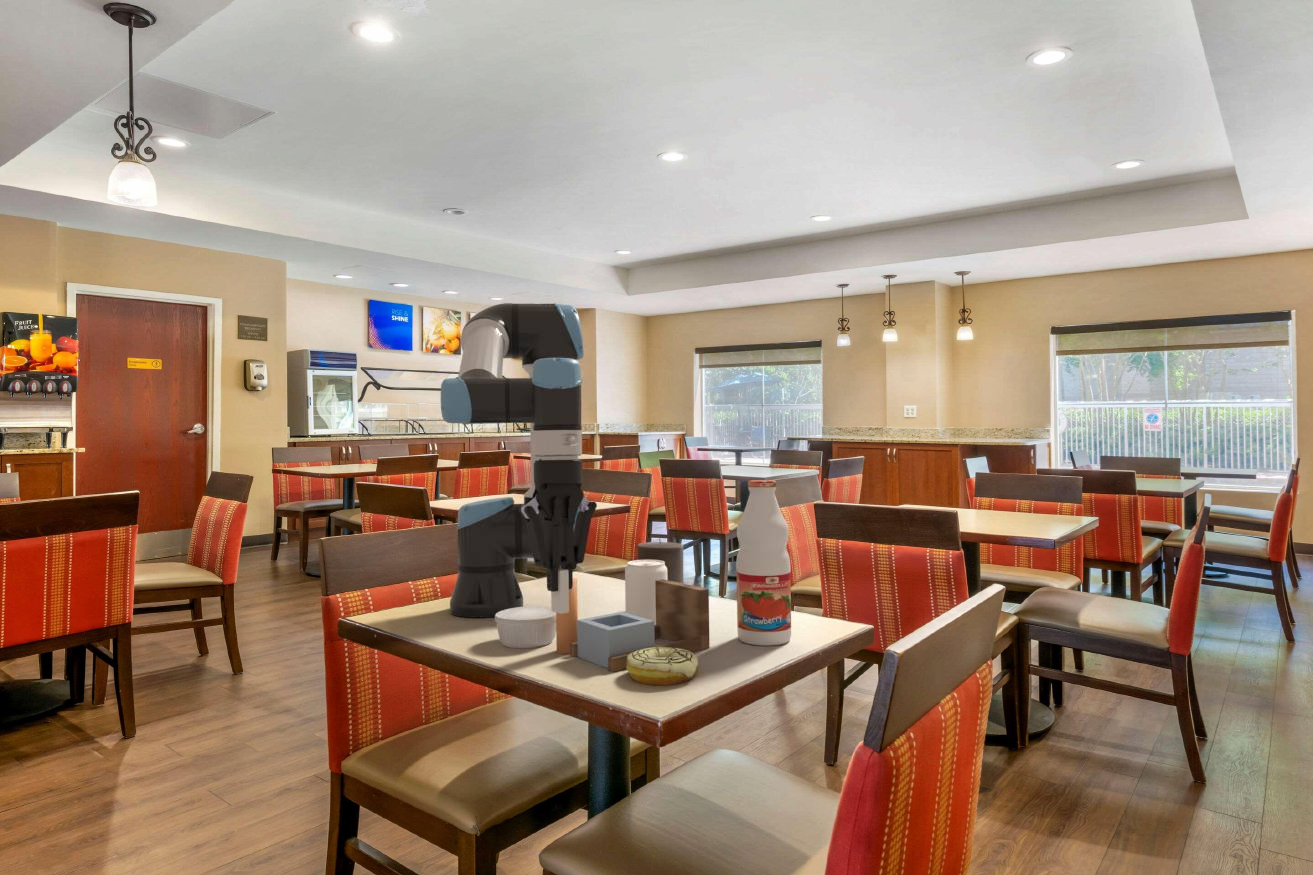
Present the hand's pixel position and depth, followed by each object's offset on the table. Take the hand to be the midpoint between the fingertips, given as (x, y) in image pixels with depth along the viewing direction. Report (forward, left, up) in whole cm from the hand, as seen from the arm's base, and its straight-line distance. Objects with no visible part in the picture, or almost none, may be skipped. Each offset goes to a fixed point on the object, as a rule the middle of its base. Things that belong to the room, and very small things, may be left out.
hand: (560, 611), depth 117 cm
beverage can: (-14, +28, -9) cm, 32 cm away
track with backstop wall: (0, +16, -9) cm, 18 cm away
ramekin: (-19, +5, -10) cm, 22 cm away
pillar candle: (-22, +38, -9) cm, 45 cm away
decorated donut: (+12, +10, -10) cm, 19 cm away
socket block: (0, +11, -9) cm, 14 cm away
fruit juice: (+8, +37, -9) cm, 39 cm away
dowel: (-9, +7, -9) cm, 14 cm away
